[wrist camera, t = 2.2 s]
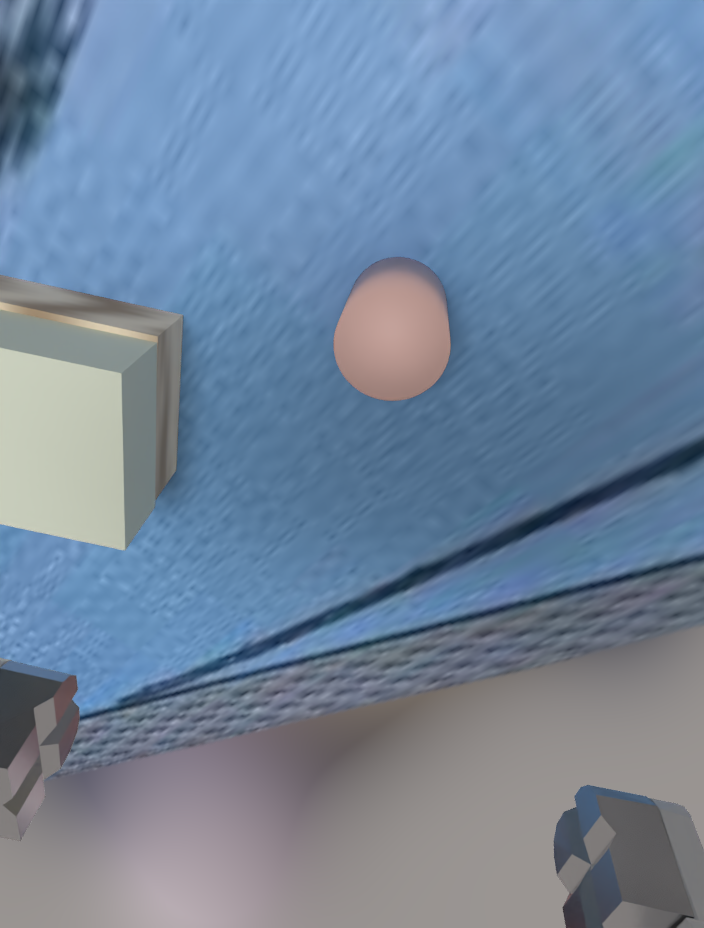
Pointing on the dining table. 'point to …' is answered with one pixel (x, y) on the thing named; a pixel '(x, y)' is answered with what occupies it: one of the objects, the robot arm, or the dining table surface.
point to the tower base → (123, 322)
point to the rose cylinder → (394, 330)
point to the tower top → (76, 430)
